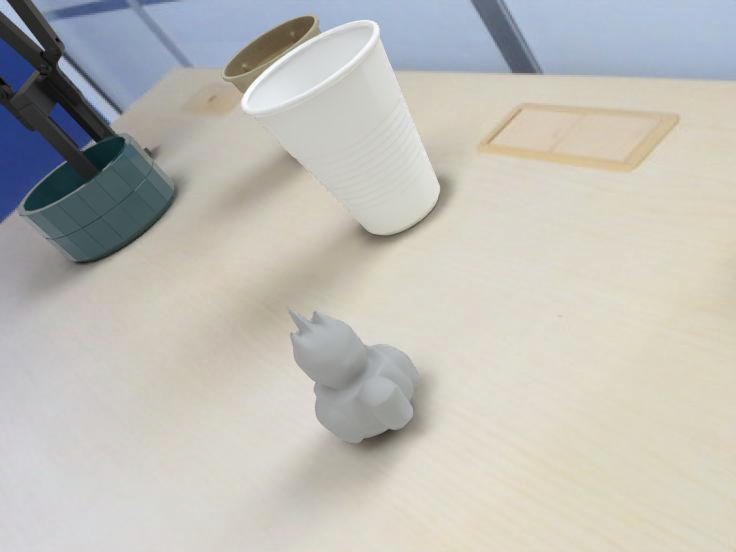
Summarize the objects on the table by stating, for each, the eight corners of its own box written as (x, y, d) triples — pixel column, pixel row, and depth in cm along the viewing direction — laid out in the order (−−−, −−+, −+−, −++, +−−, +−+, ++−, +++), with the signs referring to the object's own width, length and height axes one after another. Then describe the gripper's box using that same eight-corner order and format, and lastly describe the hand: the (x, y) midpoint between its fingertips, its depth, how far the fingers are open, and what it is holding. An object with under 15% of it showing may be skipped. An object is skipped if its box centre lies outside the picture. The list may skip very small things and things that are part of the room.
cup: (401, 168, 59) (312, 28, 51) (491, 166, 53) (407, 9, 45) (321, 253, 55) (211, 116, 47) (410, 261, 49) (302, 107, 41)
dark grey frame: (117, 174, 87) (24, 74, 79) (154, 152, 87) (64, 50, 79) (95, 240, 72) (-22, 127, 64) (139, 214, 72) (28, 97, 64)
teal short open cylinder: (50, 274, 74) (-7, 225, 70) (121, 197, 81) (73, 148, 76) (131, 255, 69) (75, 201, 65) (199, 174, 76) (153, 121, 71)
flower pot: (351, 157, 64) (284, 59, 58) (271, 178, 68) (200, 88, 61) (392, 97, 69) (334, 1, 63) (315, 120, 73) (254, 32, 67)
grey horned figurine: (397, 366, 42) (307, 257, 36) (463, 404, 38) (373, 287, 32) (327, 435, 41) (221, 332, 35) (388, 482, 37) (279, 374, 31)
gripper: (-265, -58, 57) (17, 197, 74) (-93, -162, 57) (150, 116, 74) (-227, -71, 63) (28, 170, 80) (-69, -167, 63) (152, 95, 80)
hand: (87, 144), depth 77 cm, fingers open, 2 cm apart
